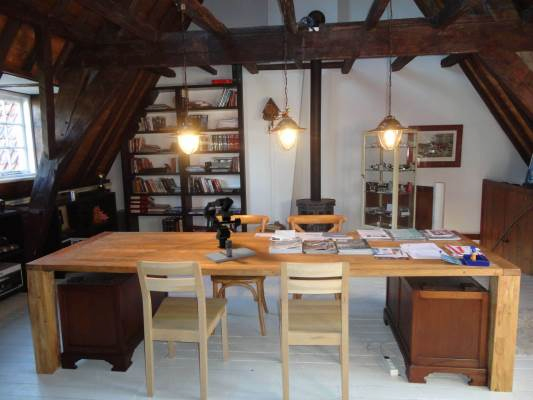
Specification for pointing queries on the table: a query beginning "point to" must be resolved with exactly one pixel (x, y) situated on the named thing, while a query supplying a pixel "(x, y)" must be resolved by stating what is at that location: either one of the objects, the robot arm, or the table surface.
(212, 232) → the table surface
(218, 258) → the subfloor panel
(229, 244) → the awl peg
